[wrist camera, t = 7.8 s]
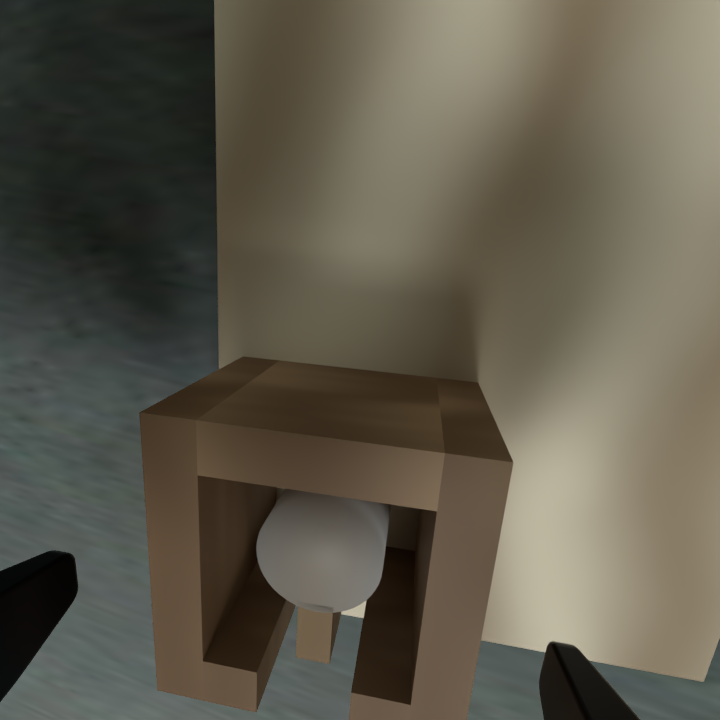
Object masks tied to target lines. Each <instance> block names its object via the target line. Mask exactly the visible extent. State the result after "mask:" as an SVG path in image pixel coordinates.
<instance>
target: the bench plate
mask: <svg viewBox="0 0 720 720" xmlns="http://www.w3.org/2000/svg"><path fill="white" fill-rule="evenodd" d="M214 27H215V105H216V183H217V261H218V339H219V369H221V368H223V367H224V366H226V365H228V364H230V363H232V362H234V361H235V360H237V359H239V358H241V357H243V356H244V357H253V358H262V359H271V360H280V361H289V362H298V363H307V364H316V365H325V366H334V367H343V368H352V369H361V370H371V371H380V372H389V373H398V374H407V375H416V376H425V377H434V378H443V379H452V380H461V381H470V382H478V383H479V386H480V388H481V390H482V392H483V395H484V397H485V399H486V401H487V404H488V406H489V408H490V410H491V413H492V415H493V417H494V419H495V422H496V424H497V426H498V428H499V431H500V433H501V435H502V438H503V440H504V442H505V444H506V447H507V449H508V451H509V453H510V456H511V458H512V460H513V462H514V463H513V468H512V473H511V479H510V484H509V490H508V495H507V501H506V506H505V512H504V517H503V523H502V528H501V534H500V539H499V545H498V550H497V556H496V561H495V567H494V572H493V578H492V583H491V588H490V594H489V599H488V605H487V610H486V616H485V621H484V627H483V632H482V638H481V640H483V641H488V642H493V643H499V644H504V645H509V646H515V647H520V648H525V649H531V650H536V651H541V652H546V648H547V645H548V644H549V642H551V641H555V642H561V643H566V644H572V645H574V646H575V647H577V648H578V649H579V650H580V651H581V652H582V653H583V655H584V656H585V657H586V658H587V659H588V660H590V661H595V662H600V663H606V664H611V665H616V666H622V667H627V668H632V669H638V670H643V671H648V672H654V673H659V674H664V675H670V676H675V677H680V678H686V679H691V680H696V681H702V682H704V679H705V677H706V674H707V671H708V668H709V666H710V663H711V660H712V657H713V655H714V652H715V649H716V646H717V644H718V641H719V638H720V0H214ZM419 515H420V509H418V508H411V507H405V506H398V505H391V504H385V503H378V502H371V501H365V500H358V499H351V498H345V497H338V496H332V495H325V494H318V493H312V492H305V491H298V490H292V489H285V488H278V487H277V496H276V504H275V506H274V508H273V509H272V511H271V513H270V514H269V516H268V518H267V519H266V521H265V523H264V524H263V526H262V528H261V530H260V532H259V535H258V539H257V546H256V551H257V559H258V563H259V566H260V569H261V571H262V573H263V575H264V577H265V578H266V580H267V581H268V583H269V584H270V585H271V587H272V588H273V589H274V590H275V591H276V592H277V593H278V594H279V595H281V596H282V597H283V598H285V599H286V600H288V601H289V602H291V603H293V604H295V605H296V606H298V621H297V644H296V657H297V658H302V659H307V660H312V661H317V662H322V663H327V664H329V663H330V659H331V655H332V651H333V646H334V642H335V638H336V633H337V629H338V625H339V620H340V616H341V614H344V615H349V616H354V617H360V618H364V613H365V607H366V601H367V599H368V598H369V597H370V596H371V595H372V594H373V593H374V591H375V590H376V588H377V587H378V585H379V582H380V580H381V577H382V571H383V564H384V557H385V549H386V546H388V547H394V548H400V549H406V550H413V551H415V547H416V539H417V531H418V523H419Z"/></svg>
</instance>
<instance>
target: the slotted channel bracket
mask: <svg viewBox="0 0 720 720" xmlns="http://www.w3.org/2000/svg"><path fill="white" fill-rule="evenodd" d="M140 429H141V444H142V460H143V475H144V491H145V506H146V522H147V537H148V553H149V568H150V584H151V599H152V614H153V630H154V645H155V661H156V676H157V690H158V691H163V692H167V693H172V694H176V695H181V696H185V697H190V698H194V699H199V700H203V701H208V702H212V703H216V704H221V705H225V706H230V707H234V708H239V709H243V710H248V711H252V712H257V709H258V706H259V704H260V701H261V698H262V696H263V693H264V690H265V687H266V685H267V682H268V679H269V677H270V674H271V671H272V668H273V666H274V663H275V660H276V658H277V655H278V652H279V649H280V647H281V644H282V641H283V639H284V636H285V633H286V630H287V628H288V625H289V622H290V619H291V617H292V614H293V611H294V609H295V606H296V605H295V604H293V603H291V602H289V601H288V600H286V599H285V598H283V597H282V596H281V595H279V594H278V593H277V592H276V591H275V590H274V589H273V588H272V587H271V585H270V584H269V583H268V581H267V580H266V578H265V577H264V575H263V573H262V571H261V569H260V566H259V563H258V559H257V551H256V546H257V539H258V535H259V532H260V530H261V528H262V526H263V524H264V523H265V521H266V519H267V518H268V516H269V514H270V513H271V511H272V509H273V508H274V506H275V504H276V496H277V487H278V488H285V489H292V490H298V491H305V492H312V493H318V494H325V495H332V496H338V497H345V498H351V499H358V500H365V501H371V502H378V503H385V504H391V505H398V506H405V507H411V508H418V509H420V515H419V523H418V531H417V539H416V547H415V551H413V550H406V549H400V548H394V547H388V546H386V549H385V557H384V564H383V571H382V577H381V580H380V582H379V585H378V587H377V588H376V590H375V591H374V593H373V594H372V595H371V596H370V597H369V598H368V599H367V601H366V607H365V613H364V619H363V625H362V631H361V637H360V643H359V649H358V655H357V661H356V667H355V673H354V679H353V685H352V691H351V701H350V712H349V720H467V714H468V709H469V703H470V698H471V693H472V687H473V682H474V676H475V671H476V665H477V660H478V654H479V649H480V643H481V638H482V632H483V627H484V621H485V616H486V610H487V605H488V599H489V594H490V588H491V583H492V578H493V572H494V567H495V561H496V556H497V550H498V545H499V539H500V534H501V528H502V523H503V517H504V512H505V506H506V501H507V495H508V490H509V484H510V479H511V473H512V468H513V463H514V462H513V460H512V458H511V456H510V453H509V451H508V449H507V447H506V444H505V442H504V440H503V438H502V435H501V433H500V431H499V428H498V426H497V424H496V422H495V419H494V417H493V415H492V413H491V410H490V408H489V406H488V404H487V401H486V399H485V397H484V395H483V392H482V390H481V388H480V386H479V383H478V382H470V381H461V380H452V379H443V378H434V377H425V376H416V375H407V374H398V373H389V372H380V371H371V370H361V369H352V368H343V367H334V366H325V365H316V364H307V363H298V362H289V361H280V360H271V359H262V358H253V357H244V356H243V357H241V358H239V359H237V360H235V361H234V362H232V363H230V364H228V365H226V366H224V367H223V368H221V369H219V370H217V371H215V372H213V373H212V374H210V375H208V376H206V377H204V378H202V379H200V380H199V381H197V382H195V383H193V384H191V385H189V386H188V387H186V388H184V389H182V390H180V391H178V392H177V393H175V394H173V395H171V396H169V397H167V398H166V399H164V400H162V401H160V402H158V403H156V404H154V405H153V406H151V407H149V408H147V409H145V410H143V411H142V412H140Z"/></svg>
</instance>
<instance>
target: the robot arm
mask: <svg viewBox="0 0 720 720" xmlns="http://www.w3.org/2000/svg"><path fill="white" fill-rule="evenodd" d="M77 592H78V580H77V572H76V563H75V558H74V556H73V555H72V554H70V553H66V552H61V551H48V552H46V553H43V554H41V555H38V556H36V557H33V558H31V559H29V560H26V561H24V562H21V563H19V564H16V565H14V566H12V567H9V568H7V569H4V570H2V571H0V702H1V700H2V699H3V698H4V697H5V695H6V694H7V693H8V692H9V690H10V689H11V688H12V687H13V685H14V684H15V683H16V681H17V680H18V678H19V677H20V676H21V674H22V673H23V672H24V670H25V669H26V668H27V666H28V665H29V663H30V662H31V661H32V659H33V658H34V656H35V655H36V653H37V652H38V651H39V649H40V648H41V646H42V645H43V644H44V642H45V641H46V639H47V638H48V637H49V635H50V634H51V632H52V631H53V629H54V628H55V627H56V625H57V624H58V622H59V621H60V620H61V618H62V617H63V615H64V614H65V613H66V611H67V610H68V608H69V607H70V605H71V604H72V603H73V601H74V599H75V597H76V595H77ZM539 689H540V697H541V704H542V710H543V716H544V720H640V719H639V718H638V717H637V715H636V714H635V713H634V712H633V711H632V710H631V709H630V707H629V706H628V705H627V704H626V703H625V702H624V701H623V699H622V698H621V697H620V696H619V695H618V694H617V692H616V691H615V690H614V689H613V688H612V687H611V686H610V684H609V683H608V682H607V681H606V680H605V679H604V678H603V676H602V675H601V674H600V673H599V672H598V671H597V669H596V668H595V667H594V666H593V665H592V664H591V663H590V661H589V660H588V659H587V658H586V657H585V656H584V655H583V653H582V652H581V651H580V650H579V649H578V648H577V647H575V646H574V645H572V644H566V643H561V642H555V641H551V642H549V644H548V645H547V648H546V652H545V657H544V661H543V665H542V670H541V674H540V680H539Z"/></svg>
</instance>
